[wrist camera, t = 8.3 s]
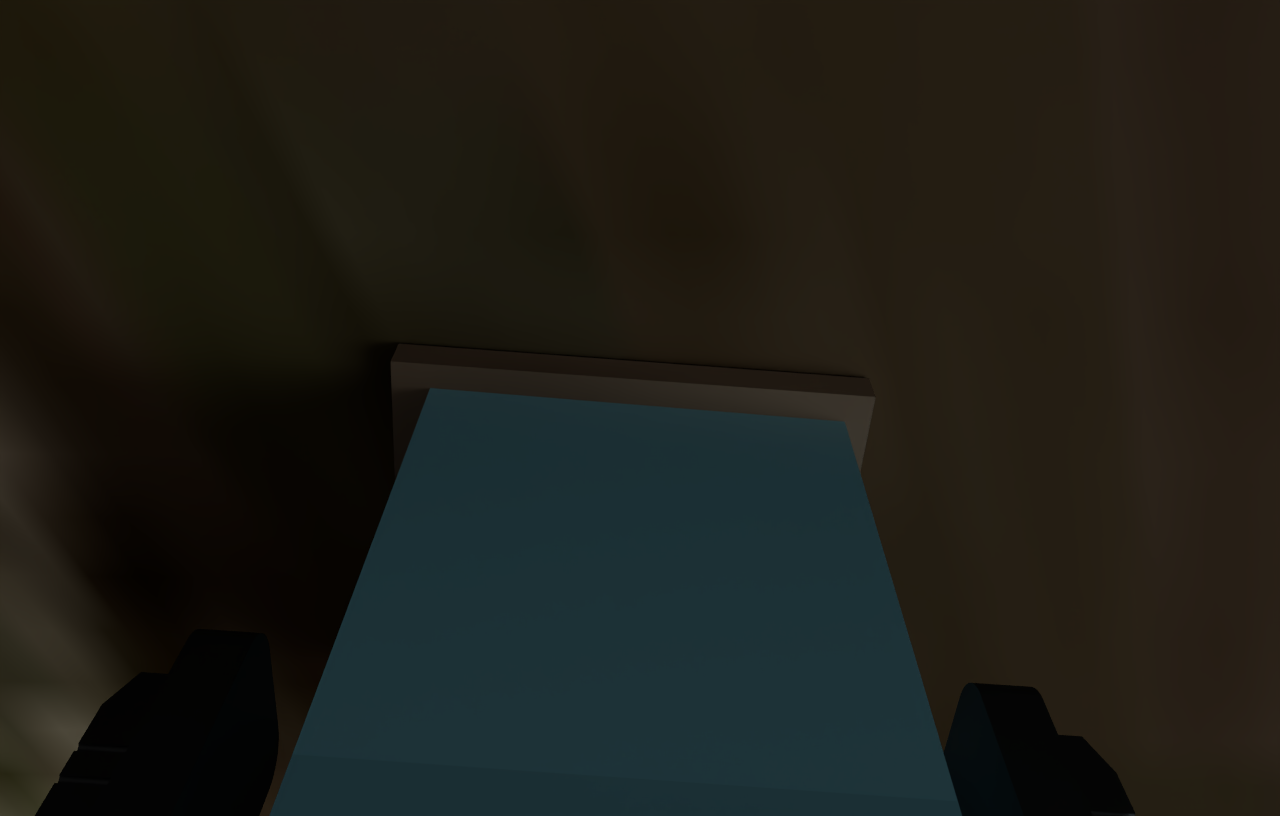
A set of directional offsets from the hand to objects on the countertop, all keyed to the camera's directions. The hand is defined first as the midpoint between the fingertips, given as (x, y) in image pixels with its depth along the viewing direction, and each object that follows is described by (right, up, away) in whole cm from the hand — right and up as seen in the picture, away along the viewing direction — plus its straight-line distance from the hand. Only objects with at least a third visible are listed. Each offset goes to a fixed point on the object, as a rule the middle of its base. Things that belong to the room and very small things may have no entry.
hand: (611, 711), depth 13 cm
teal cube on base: (0, +1, +2) cm, 3 cm away
